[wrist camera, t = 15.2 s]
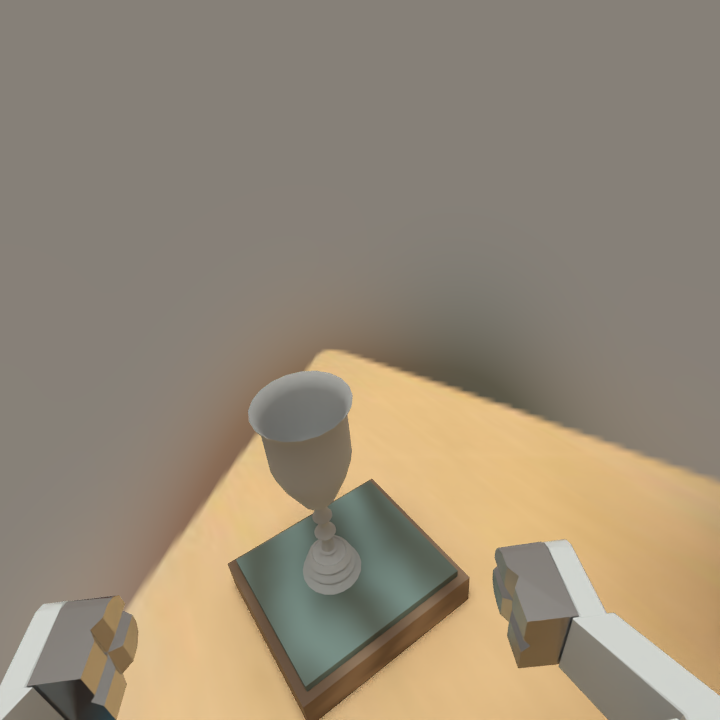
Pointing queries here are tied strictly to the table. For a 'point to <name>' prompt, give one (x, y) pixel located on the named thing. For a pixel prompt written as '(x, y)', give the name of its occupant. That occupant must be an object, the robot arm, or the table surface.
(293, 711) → the table surface
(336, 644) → the plinth
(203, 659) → the table surface
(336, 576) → the chalice
